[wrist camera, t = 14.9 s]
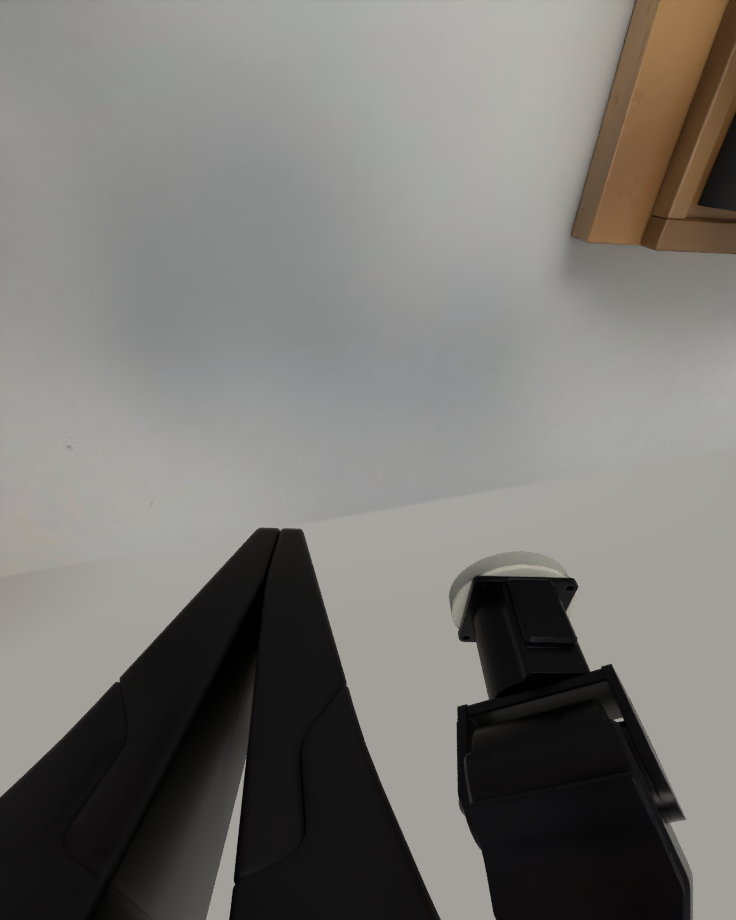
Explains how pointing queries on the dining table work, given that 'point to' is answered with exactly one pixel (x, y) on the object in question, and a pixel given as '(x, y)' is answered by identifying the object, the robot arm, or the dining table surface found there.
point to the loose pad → (723, 176)
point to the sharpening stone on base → (665, 132)
